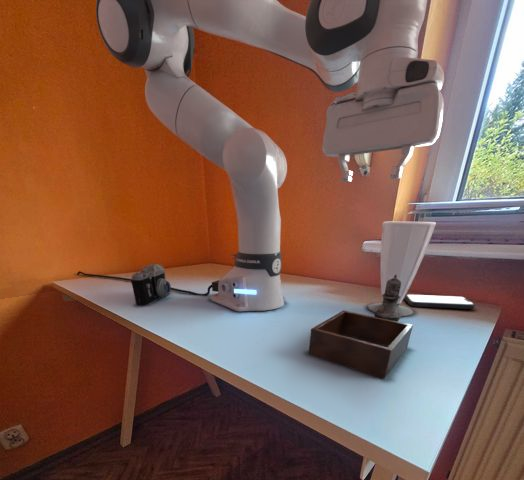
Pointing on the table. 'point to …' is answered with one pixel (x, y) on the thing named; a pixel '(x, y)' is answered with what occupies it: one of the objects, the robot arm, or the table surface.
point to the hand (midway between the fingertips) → (369, 180)
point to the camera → (150, 285)
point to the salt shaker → (390, 301)
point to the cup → (402, 255)
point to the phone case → (439, 301)
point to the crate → (360, 342)
